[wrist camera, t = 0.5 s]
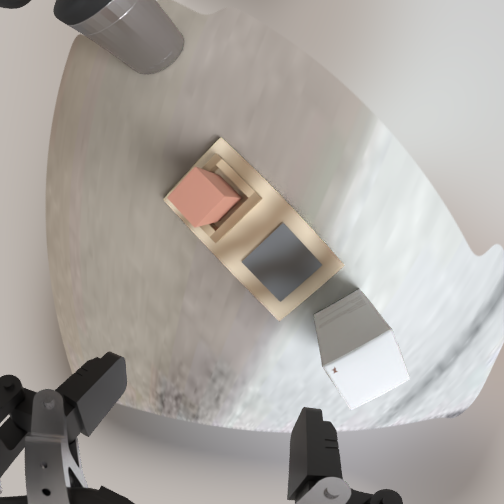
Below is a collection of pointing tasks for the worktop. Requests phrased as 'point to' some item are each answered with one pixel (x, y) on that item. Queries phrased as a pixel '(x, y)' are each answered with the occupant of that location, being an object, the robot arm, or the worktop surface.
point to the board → (263, 237)
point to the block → (203, 197)
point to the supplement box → (359, 350)
